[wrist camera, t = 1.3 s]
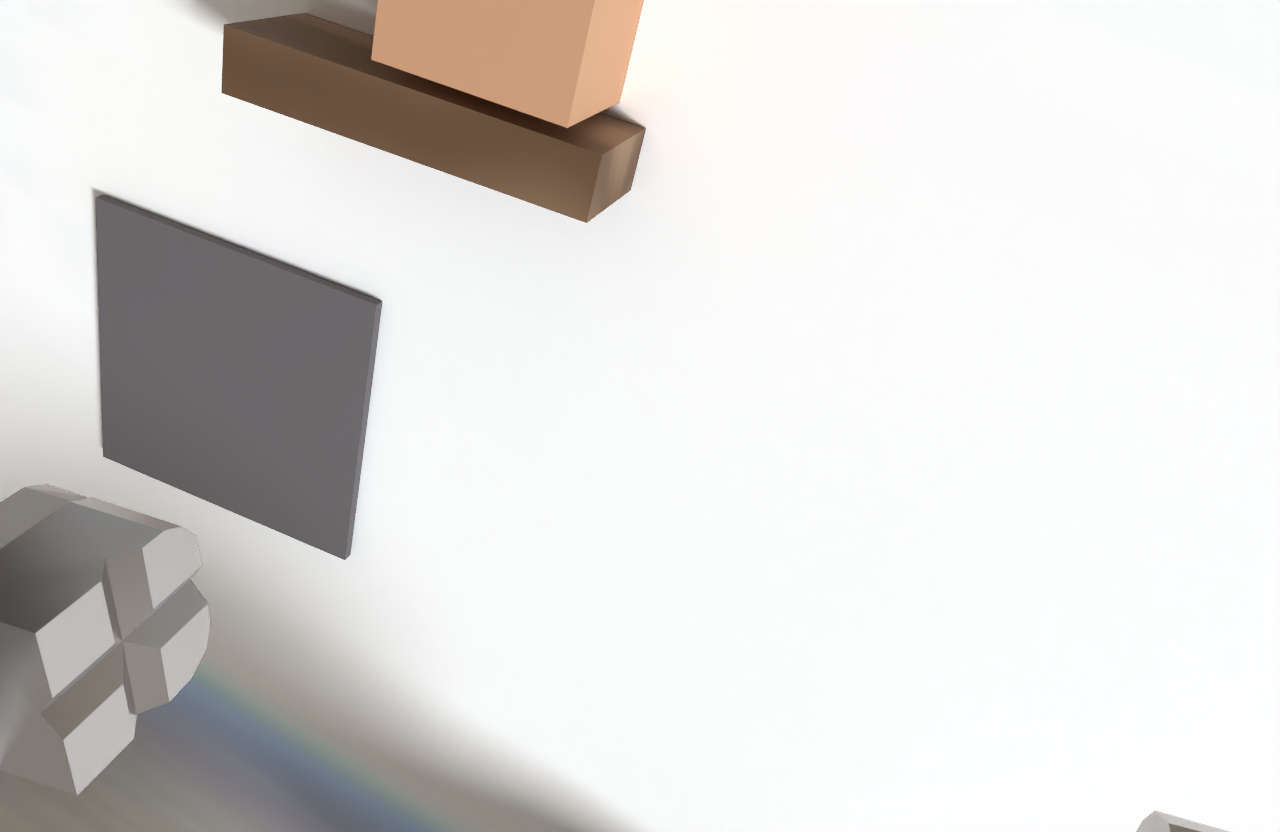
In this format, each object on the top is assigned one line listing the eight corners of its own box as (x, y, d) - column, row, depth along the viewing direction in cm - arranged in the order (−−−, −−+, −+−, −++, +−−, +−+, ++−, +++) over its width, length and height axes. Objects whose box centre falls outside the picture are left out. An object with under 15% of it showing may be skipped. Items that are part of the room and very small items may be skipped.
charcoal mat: (350, 554, 43) (344, 560, 42) (110, 452, 45) (103, 456, 44) (382, 301, 37) (376, 305, 36) (103, 195, 39) (95, 197, 38)
